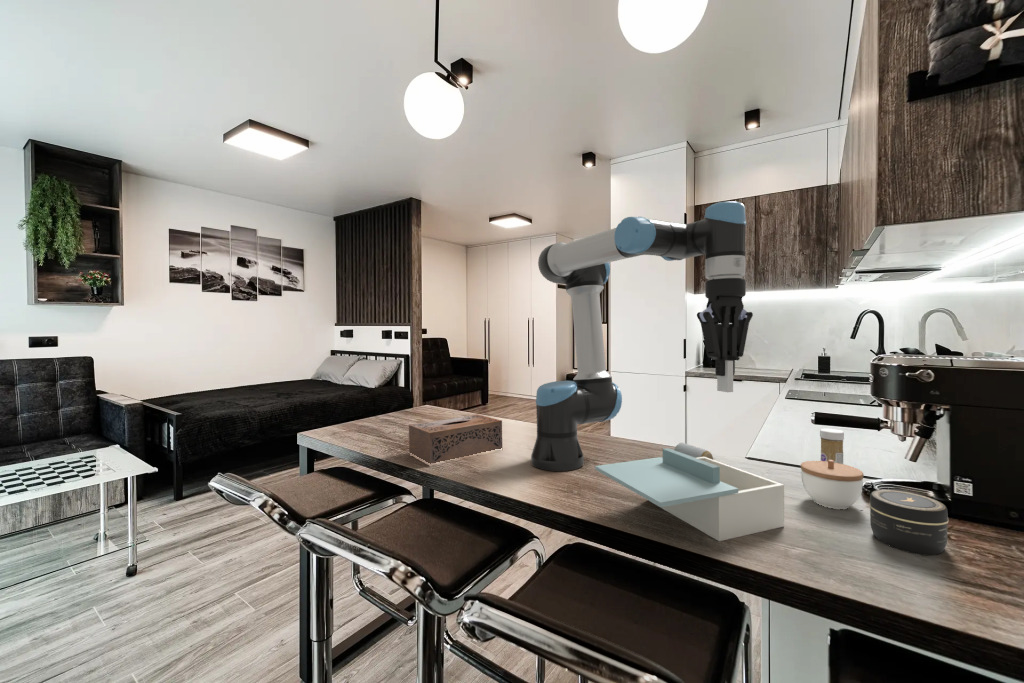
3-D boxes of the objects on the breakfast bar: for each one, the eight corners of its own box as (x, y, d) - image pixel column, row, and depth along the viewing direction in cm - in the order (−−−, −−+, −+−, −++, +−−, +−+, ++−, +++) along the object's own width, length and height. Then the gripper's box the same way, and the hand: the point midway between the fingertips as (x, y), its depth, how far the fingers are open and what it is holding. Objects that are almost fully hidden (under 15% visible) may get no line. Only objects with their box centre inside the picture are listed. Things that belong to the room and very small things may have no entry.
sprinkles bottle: (815, 483, 102) (815, 428, 102) (830, 481, 103) (829, 427, 103) (834, 490, 98) (833, 432, 97) (849, 488, 99) (848, 431, 98)
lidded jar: (821, 491, 97) (821, 451, 97) (875, 509, 87) (875, 464, 87) (789, 498, 93) (789, 456, 93) (842, 518, 83) (842, 471, 83)
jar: (945, 540, 74) (945, 497, 74) (951, 564, 66) (951, 516, 66) (870, 524, 80) (870, 484, 80) (868, 544, 73) (868, 500, 73)
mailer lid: (595, 469, 90) (595, 452, 90) (660, 460, 95) (660, 443, 95) (660, 507, 70) (660, 484, 70) (738, 492, 75) (738, 471, 75)
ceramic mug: (701, 481, 104) (701, 451, 104) (671, 473, 111) (671, 444, 111) (721, 473, 111) (721, 444, 111) (691, 466, 117) (691, 438, 117)
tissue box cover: (478, 442, 147) (477, 414, 147) (502, 451, 136) (501, 420, 136) (409, 456, 132) (408, 424, 132) (430, 467, 120) (429, 432, 120)
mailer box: (647, 500, 94) (647, 464, 93) (704, 490, 99) (704, 456, 99) (719, 541, 75) (718, 496, 75) (784, 526, 80) (784, 484, 80)
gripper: (714, 275, 82) (714, 395, 82) (764, 277, 86) (764, 391, 87) (686, 280, 89) (687, 390, 89) (734, 281, 93) (734, 387, 94)
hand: (725, 391), depth 88 cm, fingers closed
